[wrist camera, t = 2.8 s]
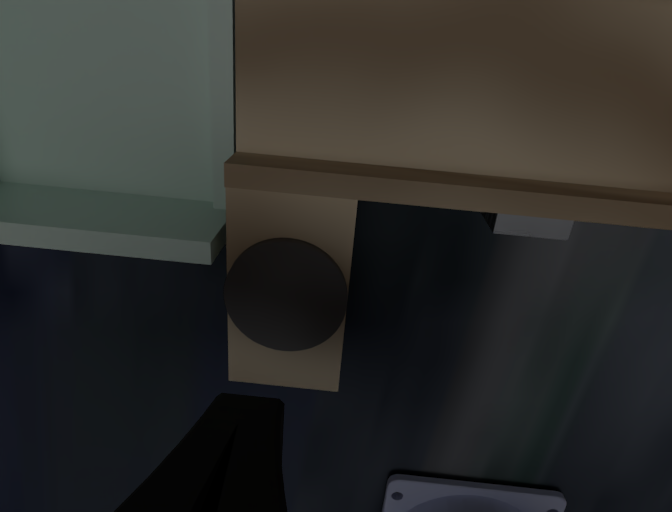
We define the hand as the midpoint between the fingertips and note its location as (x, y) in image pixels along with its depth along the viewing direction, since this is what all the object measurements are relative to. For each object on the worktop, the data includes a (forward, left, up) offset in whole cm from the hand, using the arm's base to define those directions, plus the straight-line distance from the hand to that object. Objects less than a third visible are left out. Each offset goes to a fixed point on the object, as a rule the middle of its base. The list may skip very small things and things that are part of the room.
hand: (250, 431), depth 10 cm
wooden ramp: (+3, -6, -8) cm, 11 cm away
